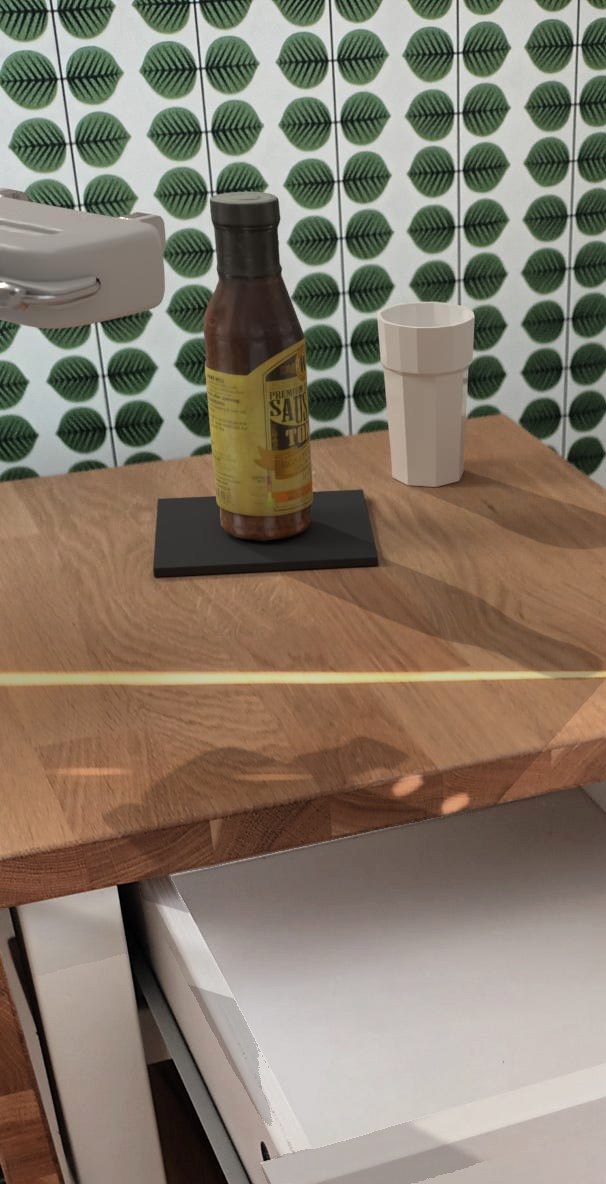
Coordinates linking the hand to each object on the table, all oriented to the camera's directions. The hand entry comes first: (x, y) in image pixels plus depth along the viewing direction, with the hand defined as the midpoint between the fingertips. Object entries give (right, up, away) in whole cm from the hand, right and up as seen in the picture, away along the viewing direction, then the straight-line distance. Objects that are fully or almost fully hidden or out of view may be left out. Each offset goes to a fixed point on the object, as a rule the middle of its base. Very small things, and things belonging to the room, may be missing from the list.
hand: (86, 218), depth 81 cm
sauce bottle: (+7, -11, +21) cm, 24 cm away
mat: (+6, -11, +21) cm, 25 cm away
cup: (+17, -5, +30) cm, 35 cm away
